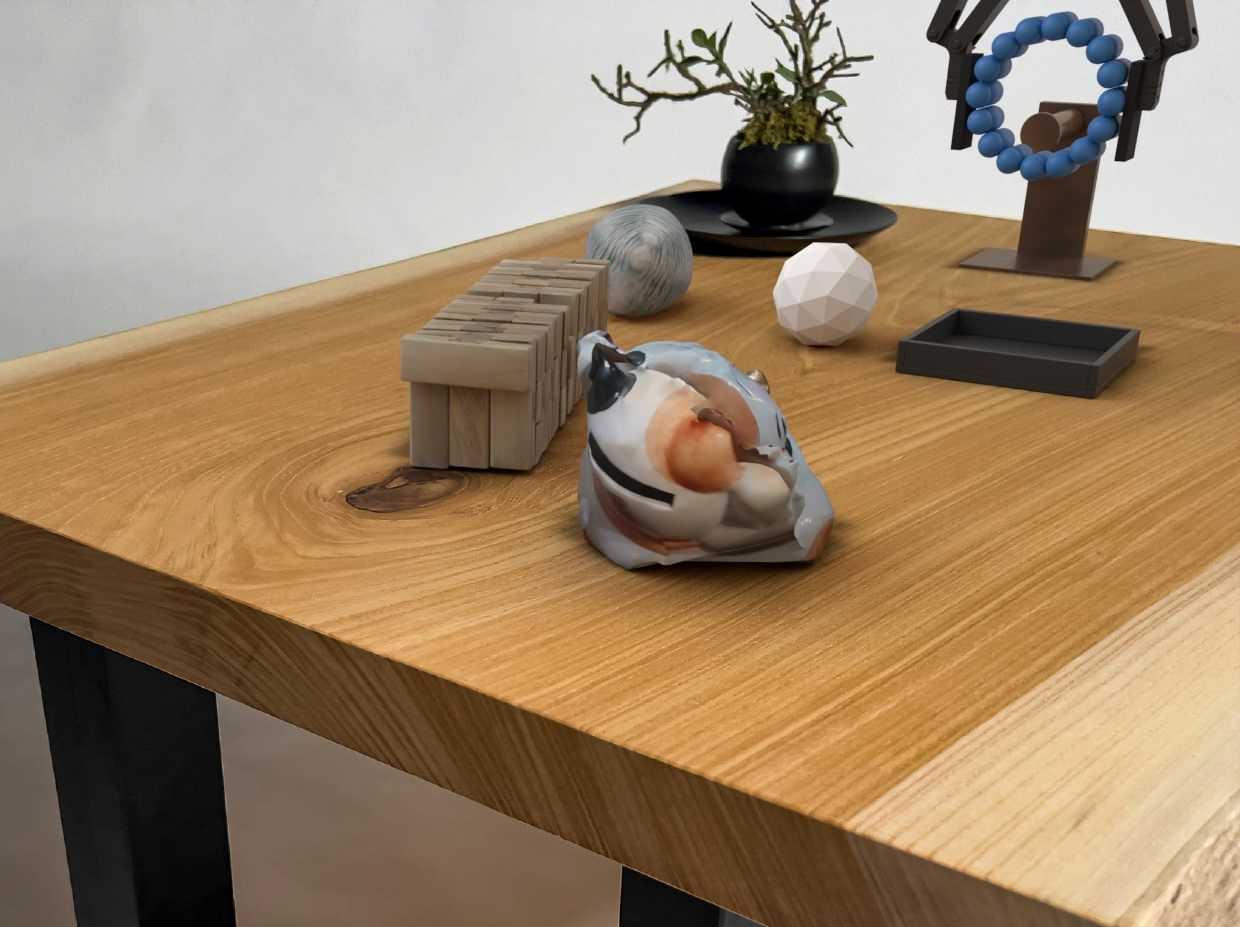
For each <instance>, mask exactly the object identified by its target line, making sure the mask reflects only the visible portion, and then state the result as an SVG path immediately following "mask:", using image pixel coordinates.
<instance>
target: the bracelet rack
mask: <svg viewBox="0 0 1240 927" xmlns="http://www.w3.org/2000/svg"><path fill="white" fill-rule="evenodd" d="M1099 116H1102V114H1101V113H1100V112H1099V110H1098V107H1097V103H1091V102H1090V103H1088V102H1072V101H1070V102H1068V101H1051V100H1042V101H1040V102H1039V104H1038V112H1036V113H1034V114H1032V115H1030V116H1029V117H1027V118H1026V120H1024V122H1023V123H1022V126H1021V128H1020V132H1019V140H1020V144H1026V145H1028V146H1029V147H1030V148H1031V149H1032V151H1033V154H1036V153H1038V152H1041V151H1050V152H1052V153H1055V152H1058V151H1060V150H1063V149H1065V148H1068V147H1071V145H1072V144H1073V143H1074V142H1075V141H1076V140H1078V139H1080V138H1083V137H1085V136H1088V132H1087V131H1088V126H1089V124H1090V123H1091V121H1092V120H1093V119H1095V118H1096V117H1099ZM1101 158H1102V156H1101V157H1100V158H1098V159H1096V160H1094V161H1091V162H1089V163H1087V164H1083V165H1081V166H1080V167H1079V168H1078V169H1077V170H1076V171H1075V172H1072V173H1070V174H1068V175H1066V176H1063V177H1060V178H1054V177H1051V176H1050V175H1047V176H1045V177H1043V178H1040V179H1038V180H1035V181H1027V184H1026V192H1025V198H1024V203H1023V204H1024V205H1023V212H1022V217H1021V224H1020V231H1019V239H1018V245H1017V249H1011V248H1010V249H1009V248H1001V247H999V248H998V247H988V248H986V249H984V250H982V251H980V252H977V254H975V255H973V256H971V257H969V258H967V259H965V260H963V261H961V262H959V263H958V265H957V267H958V268H961V269H969V270H980V271H991V272H998V273H999V272H1000V273H1009V274H1019V275H1029V276H1038V277H1048V278H1057V279H1067V280H1077V281H1087V282H1091V281H1093V280H1094V279H1096V278H1098V277H1099V276H1100V275H1102V274H1103V273H1104V272H1106V271H1107V270H1109V269H1110V268H1111V267H1113V266H1114V265H1116V264H1117V259H1115V258H1103V257H1094V256H1085V253H1086V247H1087V241H1088V235H1089V229H1090V223H1091V217H1092V212H1093V206H1094V200H1095V194H1096V189H1097V182H1098V177H1099V171H1100V164H1101Z"/></svg>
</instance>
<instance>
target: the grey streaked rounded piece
mask: <svg viewBox="0 0 1240 927" xmlns="http://www.w3.org/2000/svg"><path fill="white" fill-rule="evenodd" d="M584 250H585V251H584V252H585V253H584V259H598V260H609V261H610V262H611V266H610V285H609V303H608V314H610V315H612V316H615V317H617V318H622V319H623V318H624V319H628V320H634V319H637V318H642V317H648V316H652V315H655V314H657V313H659V312H661V311H663V310H665V309H667V308H668V307H670V306H671V305H673V303H675V302H677V301H678V300H679V299H680V298H681V297H682V296H683V295H684V294H685V293H686V292H687V291H688V289H689V288H690V285H691V283H692V278H693V272H694V255H693V249H692V244H691V242H690V238H689V235H688V233H687V231H686V230H685V228H684V226H683V225H682V223H681V222H680V221H679V219H678V218H677V217H676V216H675V215H674V214H673V213H672V212H671V211H669V210H668V209H666V208H664V207H662V206H658V205H653V204H645V203H644V204H643V203H642V204H641V203H640V204H639V203H638V204H631V205H626V206H623V207H619V208H617V209H615V210H613V211H611V212H609V213H607V214H605V215H604V216H602V217H601V218H600V219H599V220H598V221H597V222H596V223H595V224H594V225H593V226H592V227H591V229H590V230H589V231H588V234H587V238H586V243H585V249H584Z"/></svg>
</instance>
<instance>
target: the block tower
mask: <svg viewBox="0 0 1240 927" xmlns="http://www.w3.org/2000/svg"><path fill="white" fill-rule="evenodd" d="M610 266H611V262H610V261H609V260H598V259H585V258H577V259H575V260H574V259H573V258H561V257H545V256H543V257H540V258H539V259H538V260H524V259H511V258H510V259H509V258H504V259H502V260H501V261H500V263H499V264H497V265H496V266H495V265H494V266H493V267H492V268H491V269H489V271H487V272H486V274H484V275H483V276H482V277H481V279H479V280H478V281H476V282H474V283H473V284H472V285H471V287H468V288H467V289H466V294H459V295H457V296H455V298H454V299H453V300H452V301H451V303H449V304H447V305H445V306H443V307H442V308H440V309H439V310H438V312H437V313H436V314H435V315H433V317H432V319H430V320H429V321H428V322H427V323H426V324H424V325H423V326H422V327H421V328H420V329H419V330H417V331H415V333H406V334H405V335H403V336H402V337H401V339H400V376H399V378H400V380H401V382H408V384H409V385H408V388H409V390H408V391H409V392H408V393H409V398H408V399H409V464H410V466H411V467H413V468H414V467H416V468H429V469H444V470H445V469H448V468H450V467H451V466H452V467H458V468H459V467H461V468H470V469H471V468H472V469H485V470H487V469H489V468H490V467H491V468H494V469H503V470H504V469H505V470H519V471H520V470H521V471H530V470H531V469H532V468H533V467H536V466H537V464H538V463H539V462H540V458H541V456H542V455H543V452H544V451H546V450H547V449H548V446H549V444H550V443H551V441H552V439H553V438H554V437H555V435H556V432H557V430H558V428H559V427H562V426H564V424H565V423H566V419H567V418H566V417H567V416H568V415H570V413H571V412H572V410H573V407H574V406H575V405H576V404H578V402H580V398H581V397H582V395H584V394H583V386H582V384H581V382H580V379H579V376H578V371H577V363H578V358H579V354H578V352H577V349H576V348H577V343H578V340H581V339H582V338H583V337H585V336H586V335H588V334H590V333H593V332H595V331H598V330H600V331H603V332H608V318H609V313H608V303H609V285H610Z"/></svg>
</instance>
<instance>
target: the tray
mask: <svg viewBox="0 0 1240 927" xmlns="http://www.w3.org/2000/svg"><path fill="white" fill-rule="evenodd" d="M1141 331H1142V329H1141V328H1132V327H1124V326H1118V325H1117V326H1116V325H1109V324H1108V325H1107V324H1100V323H1098V324H1097V323H1090V322H1081V321H1073V320H1063V319H1054V318H1046V317H1045V318H1044V317H1038V316H1029V315H1022V314H1021V315H1020V314H1012V313H1005V312H1004V313H1002V312H996V311H995V312H993V311H985V310H976V309H967V308H960V307H952V308H951V309H949V310H948V311H946V312H944V313H943V314H941V315H939V316H937V317H935V318H934V319H933V320H931V321H929V322H927V323H926V324H924V325H921V326H920V327H919V328H917V329H916V330H914V331H912V332H911V333H908V334H907V335H906V336H904V337H902V338H901V339H899V340H898V342H897V343H898V344H897V351H896V360H895V368H894V372H895V373H902V374H908V375H915V376H923V377H931V378H938V379H944V380H953V381H960V382H968V383H974V384H981V385H990V386H995V387H996V386H997V387H1004V388H1011V389H1019V390H1026V391H1033V392H1041V393H1048V394H1055V395H1063V396H1069V397H1070V396H1071V397H1075V398H1076V397H1077V398H1085V399H1092V400H1095V398H1096V397H1098V395H1100V394H1101V393H1102V392H1103V391H1104V390H1105V389H1106V388H1107V387H1108V386H1109V385H1110V384H1112V383H1113V381H1114V380H1115V379H1116V378H1118V377H1119V376H1120V375H1121V374H1122V373H1123V372H1124V371H1125V370H1126V369H1127V368H1128V367H1129V366H1130V365H1131V364H1133V363H1134V362H1135V361H1136V358H1137V353H1138V348H1139V342H1140V337H1141Z"/></svg>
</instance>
